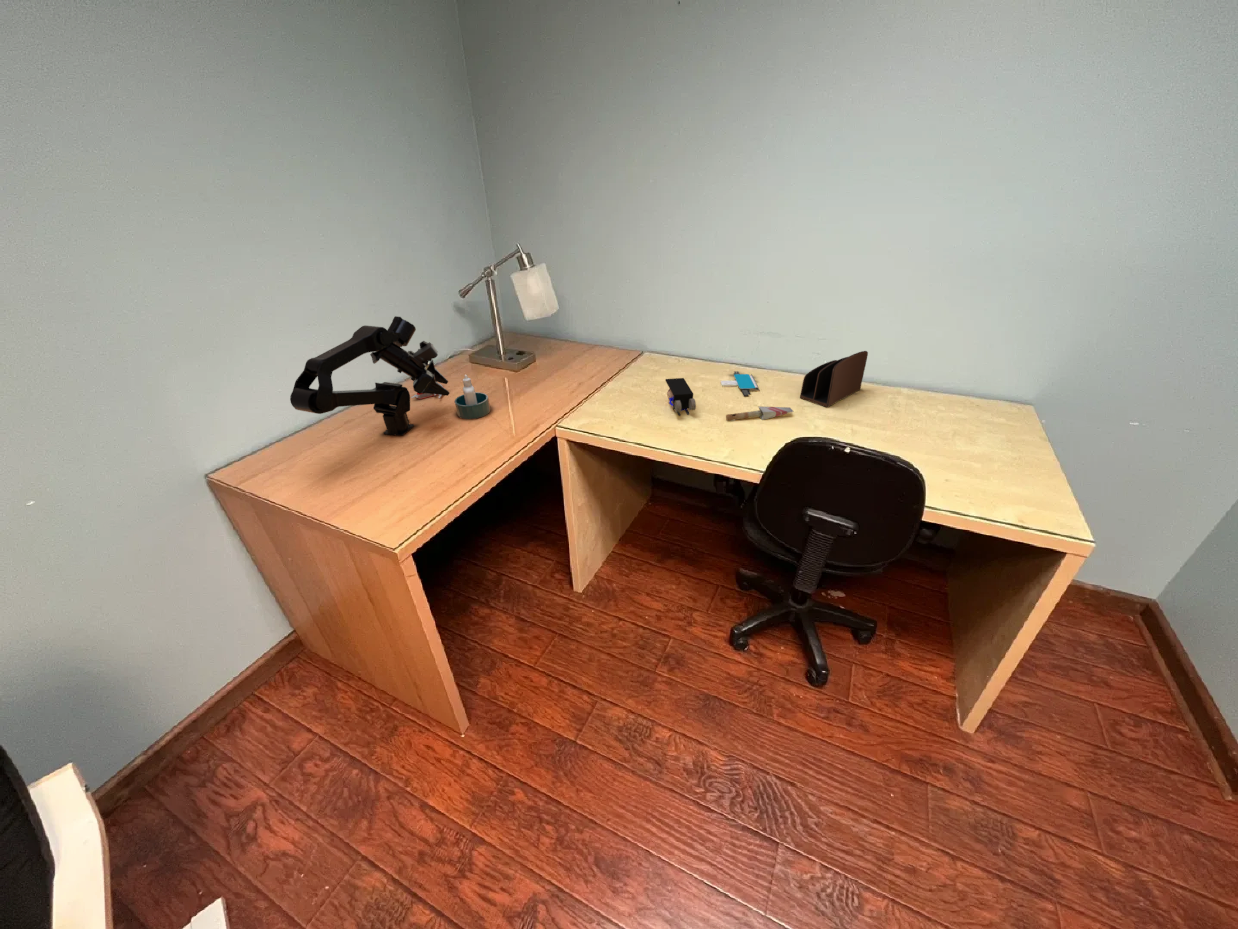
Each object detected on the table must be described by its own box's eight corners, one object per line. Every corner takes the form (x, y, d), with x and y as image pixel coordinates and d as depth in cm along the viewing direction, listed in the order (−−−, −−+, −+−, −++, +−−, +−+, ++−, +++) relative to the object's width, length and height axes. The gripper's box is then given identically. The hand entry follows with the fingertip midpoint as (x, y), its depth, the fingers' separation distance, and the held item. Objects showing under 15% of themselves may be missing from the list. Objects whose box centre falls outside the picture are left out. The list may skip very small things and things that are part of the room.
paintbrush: (795, 407, 144) (728, 416, 143) (794, 416, 146) (728, 424, 145) (789, 402, 148) (724, 410, 146) (788, 410, 149) (724, 418, 148)
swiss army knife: (417, 407, 160) (415, 402, 159) (406, 393, 170) (405, 388, 169) (451, 398, 165) (450, 393, 164) (440, 385, 175) (438, 380, 174)
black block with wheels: (696, 420, 149) (682, 395, 161) (698, 399, 144) (684, 375, 156) (675, 423, 148) (662, 397, 160) (676, 401, 144) (663, 377, 155)
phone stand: (717, 373, 176) (717, 369, 176) (750, 372, 176) (751, 368, 175) (725, 397, 160) (726, 392, 159) (762, 396, 159) (763, 391, 158)
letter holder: (860, 389, 161) (870, 348, 153) (827, 408, 150) (837, 364, 143) (832, 381, 168) (840, 340, 160) (798, 398, 157) (806, 355, 150)
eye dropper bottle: (483, 407, 158) (476, 371, 151) (476, 414, 153) (468, 378, 147) (470, 406, 159) (462, 371, 152) (462, 414, 154) (454, 378, 147)
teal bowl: (481, 420, 151) (479, 407, 149) (451, 418, 153) (448, 404, 151) (495, 405, 159) (493, 393, 157) (466, 404, 161) (464, 391, 159)
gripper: (415, 346, 131) (465, 379, 140) (416, 327, 146) (461, 357, 155) (392, 378, 134) (443, 408, 142) (395, 356, 149) (441, 384, 157)
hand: (448, 388), depth 149 cm, fingers open, 9 cm apart
